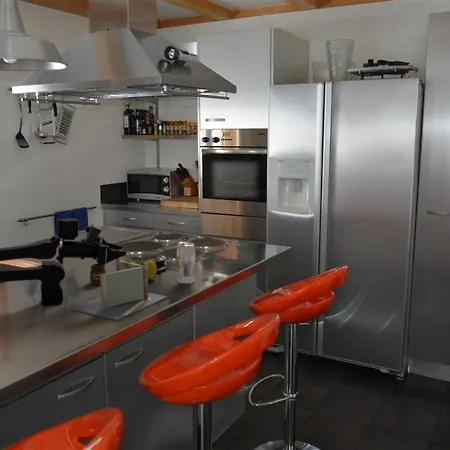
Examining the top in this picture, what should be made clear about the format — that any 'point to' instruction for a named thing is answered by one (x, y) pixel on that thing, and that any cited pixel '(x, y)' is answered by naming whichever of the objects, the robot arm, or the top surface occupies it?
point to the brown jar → (96, 273)
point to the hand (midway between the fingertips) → (124, 250)
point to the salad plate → (160, 264)
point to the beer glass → (186, 262)
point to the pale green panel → (121, 286)
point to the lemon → (151, 268)
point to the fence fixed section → (127, 265)
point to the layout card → (117, 307)
